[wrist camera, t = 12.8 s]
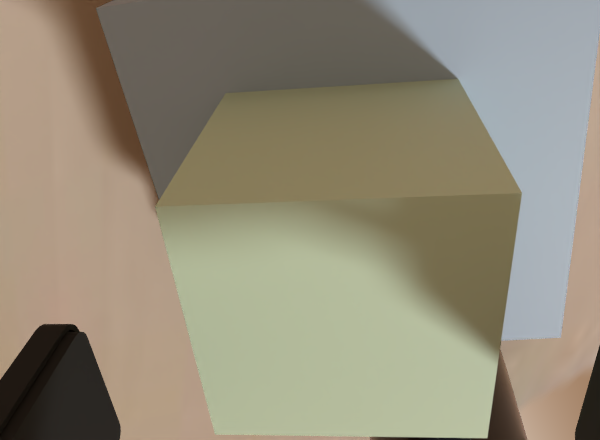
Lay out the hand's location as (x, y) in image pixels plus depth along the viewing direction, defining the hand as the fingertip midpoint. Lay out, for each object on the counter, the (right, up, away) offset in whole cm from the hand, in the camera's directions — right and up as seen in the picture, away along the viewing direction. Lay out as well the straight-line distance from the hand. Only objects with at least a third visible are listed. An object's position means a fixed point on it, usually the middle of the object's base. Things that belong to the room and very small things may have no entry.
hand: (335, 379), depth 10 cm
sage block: (+1, +4, +5) cm, 7 cm away
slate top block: (+1, +6, +9) cm, 11 cm away
